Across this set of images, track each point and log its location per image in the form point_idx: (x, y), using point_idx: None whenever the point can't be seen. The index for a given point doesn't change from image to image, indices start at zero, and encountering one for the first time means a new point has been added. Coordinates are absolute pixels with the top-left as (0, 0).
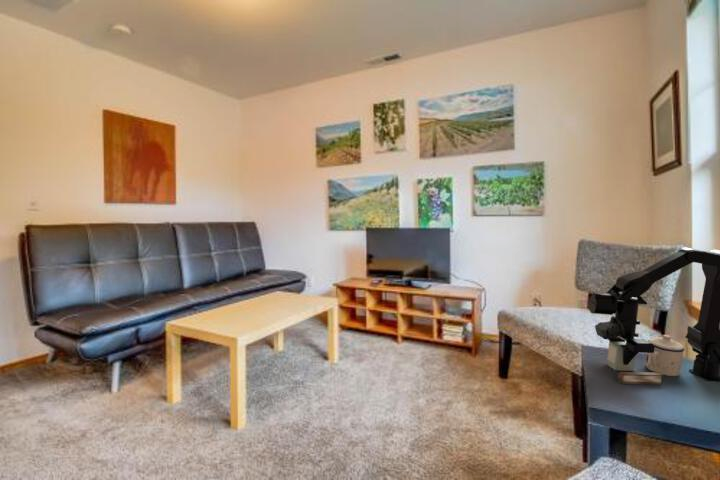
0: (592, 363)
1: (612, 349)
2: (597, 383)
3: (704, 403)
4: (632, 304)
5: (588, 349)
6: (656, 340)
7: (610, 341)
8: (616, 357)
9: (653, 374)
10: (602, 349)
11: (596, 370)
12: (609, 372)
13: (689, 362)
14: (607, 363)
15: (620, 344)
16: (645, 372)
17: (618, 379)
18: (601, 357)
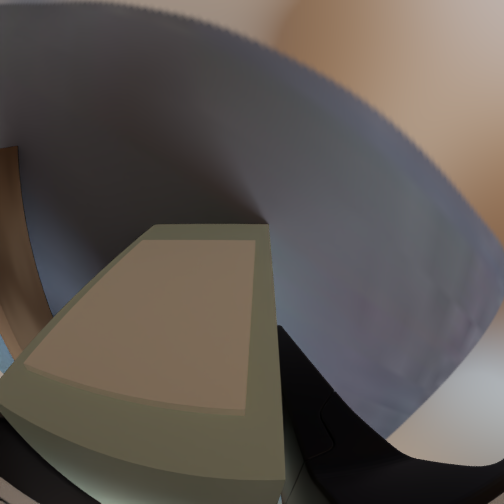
0: (286, 91)
1: (134, 339)
2: (15, 27)
3: (3, 366)
4: None
5: (499, 255)
6: None
7: (368, 467)
8: (90, 282)
9: (14, 356)
10: (469, 340)
11: (142, 56)
12: (111, 150)
13: (279, 499)
14: (260, 228)
15: (136, 500)
16: (13, 336)
17: (4, 148)
18: (399, 268)
